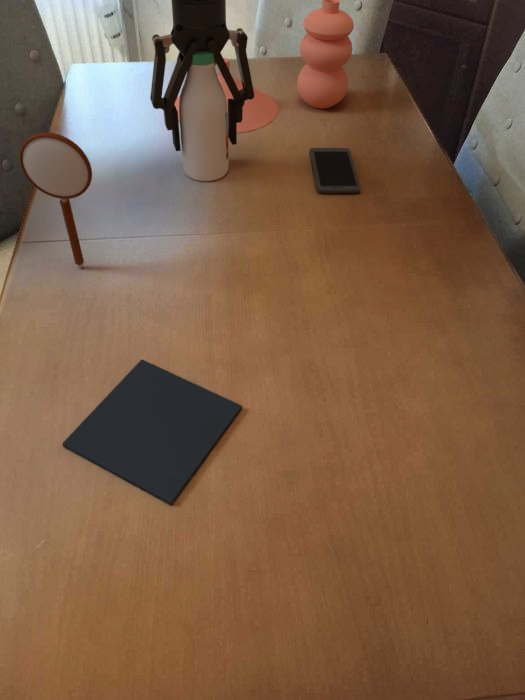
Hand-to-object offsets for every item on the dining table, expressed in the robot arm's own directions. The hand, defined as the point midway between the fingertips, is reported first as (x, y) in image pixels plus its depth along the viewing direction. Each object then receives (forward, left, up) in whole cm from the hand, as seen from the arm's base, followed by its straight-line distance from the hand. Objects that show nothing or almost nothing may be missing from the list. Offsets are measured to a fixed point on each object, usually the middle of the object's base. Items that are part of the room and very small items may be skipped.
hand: (204, 143), depth 99 cm
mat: (+24, -48, -5) cm, 54 cm away
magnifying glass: (-1, -31, -5) cm, 31 cm away
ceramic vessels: (-4, +26, -5) cm, 27 cm away
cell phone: (+19, +11, -5) cm, 23 cm away
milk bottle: (0, 0, -5) cm, 5 cm away
